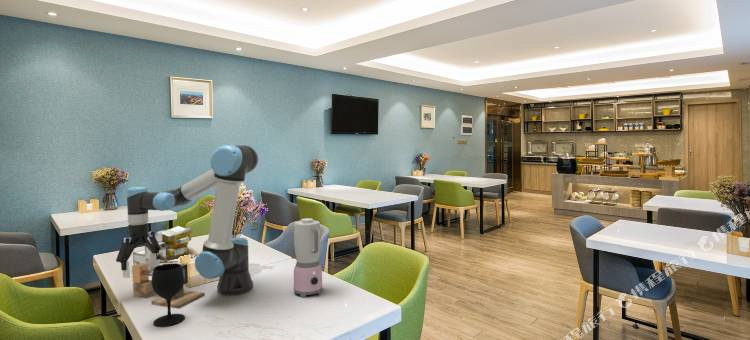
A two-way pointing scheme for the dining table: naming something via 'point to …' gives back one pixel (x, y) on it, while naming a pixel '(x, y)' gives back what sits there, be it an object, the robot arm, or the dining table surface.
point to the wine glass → (168, 290)
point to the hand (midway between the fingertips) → (140, 272)
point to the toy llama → (145, 254)
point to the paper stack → (177, 243)
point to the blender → (307, 257)
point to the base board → (180, 299)
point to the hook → (141, 273)
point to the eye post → (185, 272)
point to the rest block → (143, 289)
